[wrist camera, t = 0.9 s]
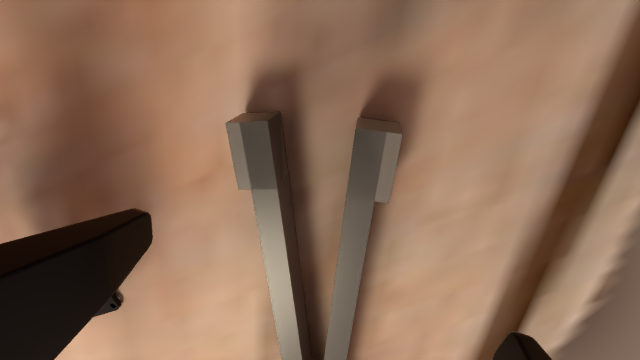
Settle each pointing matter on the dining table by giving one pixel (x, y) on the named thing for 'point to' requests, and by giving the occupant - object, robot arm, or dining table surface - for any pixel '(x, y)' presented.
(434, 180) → the dining table surface
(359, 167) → the tongs base
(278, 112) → the arm
